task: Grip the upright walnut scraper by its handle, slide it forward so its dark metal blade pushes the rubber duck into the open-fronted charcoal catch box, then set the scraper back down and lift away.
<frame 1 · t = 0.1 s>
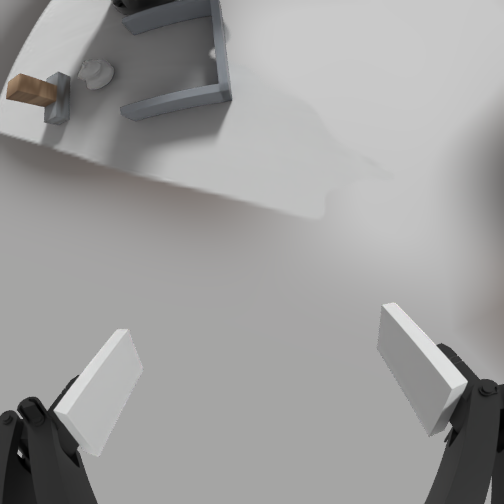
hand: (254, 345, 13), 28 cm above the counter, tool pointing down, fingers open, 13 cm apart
catch box: (173, 59, 33), on the counter
rubber duck: (103, 78, 33), on the counter
scraper: (63, 100, 34), on the counter
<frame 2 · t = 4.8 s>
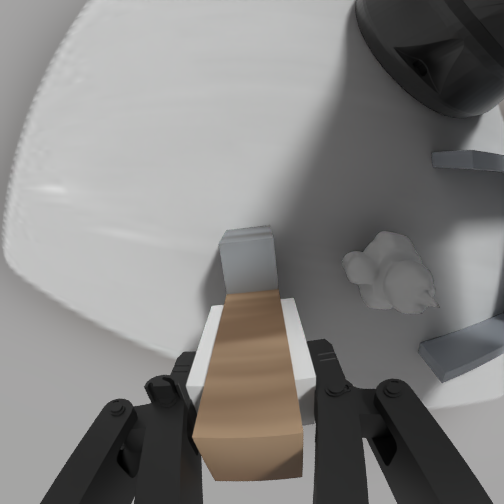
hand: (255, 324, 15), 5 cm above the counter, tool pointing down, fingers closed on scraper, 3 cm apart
catch box: (482, 254, 19), on the counter
rubber duck: (371, 260, 19), on the counter
scraper: (255, 288, 20), on the counter, touching gripper
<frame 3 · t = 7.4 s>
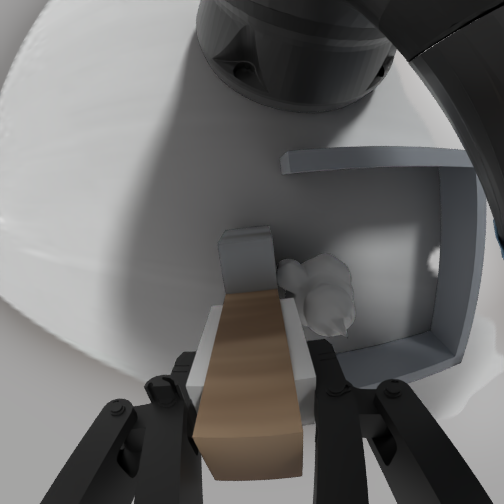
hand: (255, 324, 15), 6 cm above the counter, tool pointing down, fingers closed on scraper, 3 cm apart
catch box: (375, 267, 21), on the counter
rubber duck: (308, 277, 21), on the counter
scraper: (254, 288, 20), point 1 cm above the counter, touching gripper
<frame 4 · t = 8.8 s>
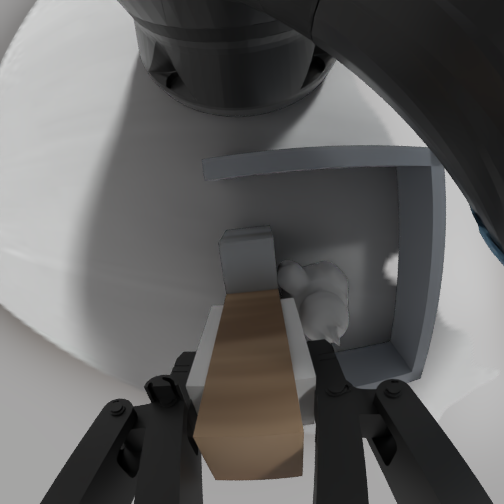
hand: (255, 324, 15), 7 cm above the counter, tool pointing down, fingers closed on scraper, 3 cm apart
catch box: (320, 273, 21), on the counter
rubber duck: (305, 282, 21), on the counter, touching scraper
scraper: (255, 288, 20), point 1 cm above the counter, touching gripper, rubber duck
when the fingers open (6 cm above the counter, at t = 10.9 s): scraper stays where it is, on the counter.
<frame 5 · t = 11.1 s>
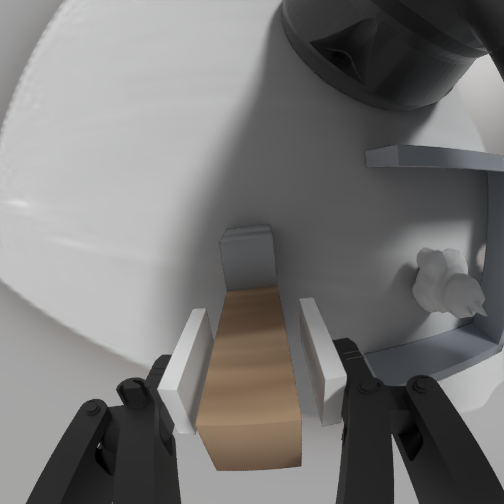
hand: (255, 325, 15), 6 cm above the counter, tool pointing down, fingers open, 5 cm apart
catch box: (438, 261, 20), on the counter
rubber duck: (425, 269, 20), on the counter
scraper: (255, 286, 20), on the counter
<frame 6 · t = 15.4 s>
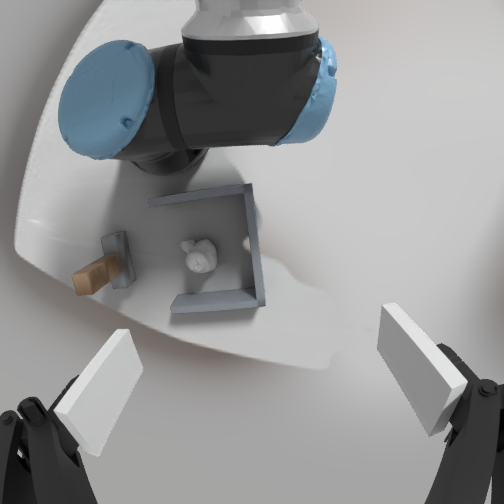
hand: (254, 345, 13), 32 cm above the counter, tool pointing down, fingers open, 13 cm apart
catch box: (208, 246, 44), on the counter
rubber duck: (202, 250, 45), on the counter
scraper: (123, 256, 45), on the counter
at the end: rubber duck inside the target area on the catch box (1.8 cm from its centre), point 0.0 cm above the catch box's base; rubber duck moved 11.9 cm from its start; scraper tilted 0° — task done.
